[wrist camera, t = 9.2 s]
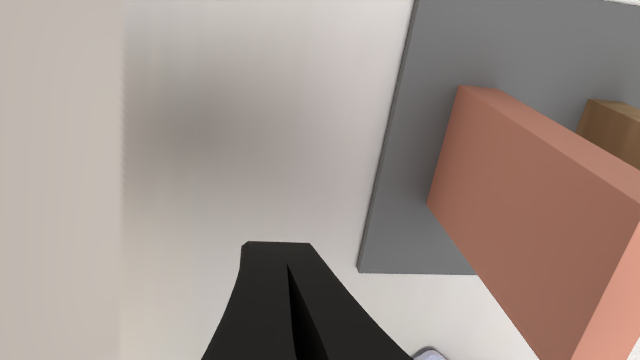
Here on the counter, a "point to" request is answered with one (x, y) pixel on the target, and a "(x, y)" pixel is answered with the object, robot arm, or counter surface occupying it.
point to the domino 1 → (543, 225)
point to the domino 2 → (612, 129)
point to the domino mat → (491, 72)
